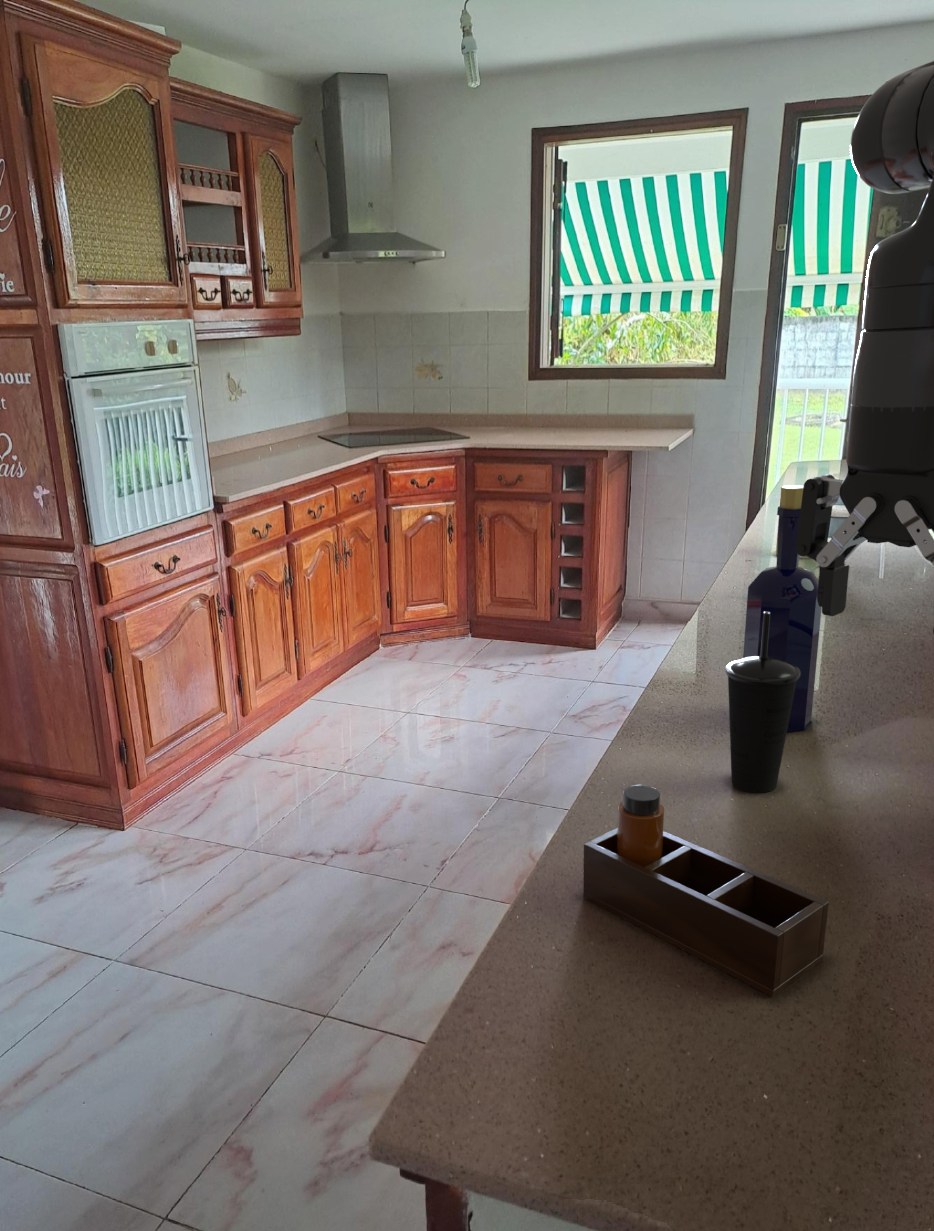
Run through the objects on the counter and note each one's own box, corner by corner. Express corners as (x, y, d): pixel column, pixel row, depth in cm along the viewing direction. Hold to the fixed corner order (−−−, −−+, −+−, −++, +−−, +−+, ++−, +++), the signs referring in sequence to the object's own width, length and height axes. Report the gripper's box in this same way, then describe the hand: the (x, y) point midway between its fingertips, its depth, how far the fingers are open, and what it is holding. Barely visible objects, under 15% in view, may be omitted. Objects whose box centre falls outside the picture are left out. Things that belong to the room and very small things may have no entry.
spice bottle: (635, 875, 93) (638, 778, 90) (669, 891, 90) (674, 792, 87) (606, 890, 91) (608, 792, 88) (641, 907, 88) (644, 807, 85)
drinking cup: (761, 764, 116) (774, 599, 109) (804, 791, 110) (821, 616, 103) (704, 776, 114) (714, 608, 107) (745, 803, 108) (758, 626, 101)
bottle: (806, 708, 132) (828, 480, 122) (818, 734, 124) (842, 492, 113) (734, 706, 134) (749, 481, 124) (741, 732, 126) (757, 494, 115)
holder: (633, 870, 96) (634, 818, 94) (822, 960, 81) (829, 901, 79) (582, 897, 92) (583, 844, 90) (772, 997, 77) (778, 936, 75)
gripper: (1047, 393, 65) (1010, 630, 71) (843, 391, 76) (825, 597, 82) (995, 404, 61) (960, 655, 67) (786, 401, 72) (772, 617, 77)
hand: (886, 623), depth 74 cm, fingers open, 8 cm apart
